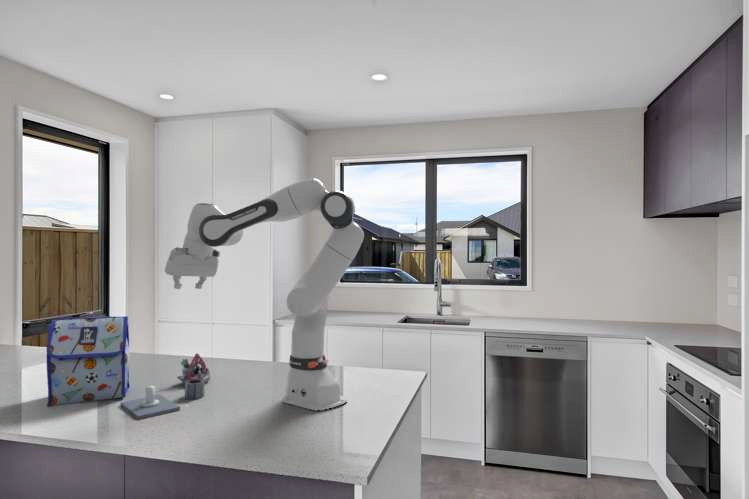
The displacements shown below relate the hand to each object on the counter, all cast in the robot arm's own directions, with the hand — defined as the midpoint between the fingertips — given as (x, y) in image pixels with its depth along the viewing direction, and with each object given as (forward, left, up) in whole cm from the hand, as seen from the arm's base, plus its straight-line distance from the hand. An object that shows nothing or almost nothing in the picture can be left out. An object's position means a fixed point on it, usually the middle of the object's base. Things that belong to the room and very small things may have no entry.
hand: (187, 288), depth 157 cm
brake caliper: (+11, -8, -36) cm, 39 cm away
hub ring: (-5, -1, -36) cm, 36 cm away
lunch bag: (+16, +25, -36) cm, 47 cm away
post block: (-7, +14, -36) cm, 39 cm away
